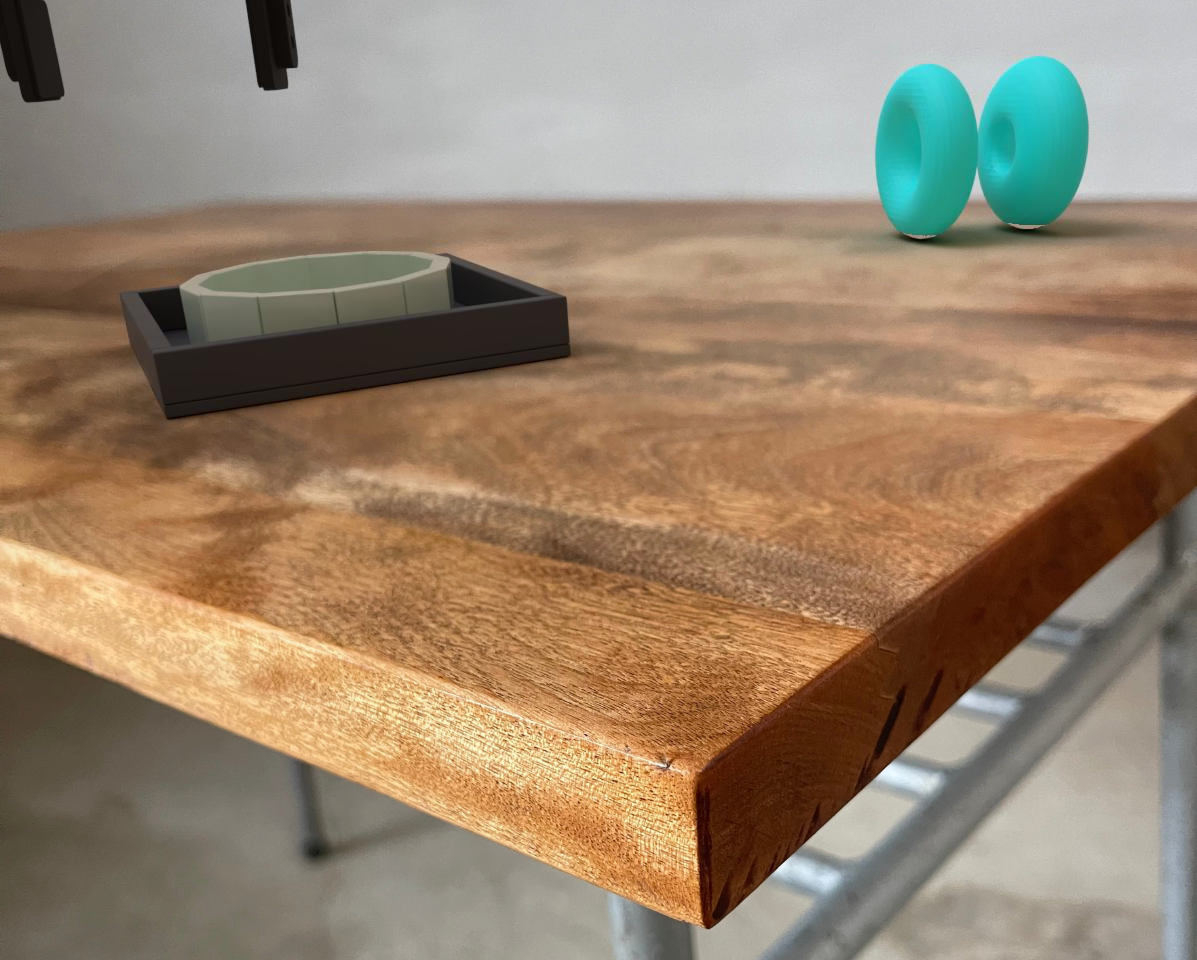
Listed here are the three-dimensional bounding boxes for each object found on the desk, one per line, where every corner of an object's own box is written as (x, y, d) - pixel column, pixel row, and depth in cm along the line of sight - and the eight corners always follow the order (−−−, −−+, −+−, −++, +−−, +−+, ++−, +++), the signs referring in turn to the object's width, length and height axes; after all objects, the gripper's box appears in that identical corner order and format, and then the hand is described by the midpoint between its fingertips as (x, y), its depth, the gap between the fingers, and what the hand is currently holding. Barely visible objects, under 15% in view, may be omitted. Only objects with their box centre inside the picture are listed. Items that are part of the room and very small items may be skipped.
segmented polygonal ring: (165, 377, 51) (150, 303, 50) (228, 322, 62) (217, 260, 60) (447, 357, 51) (438, 284, 50) (461, 306, 62) (455, 244, 61)
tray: (129, 343, 61) (118, 292, 60) (452, 300, 66) (447, 252, 65) (166, 419, 47) (152, 353, 46) (571, 355, 52) (567, 296, 51)
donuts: (865, 231, 81) (870, 65, 77) (1008, 219, 82) (1020, 55, 78) (930, 251, 72) (939, 64, 68) (1089, 236, 73) (1107, 53, 69)
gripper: (-226, -436, 42) (-88, 109, 49) (289, -456, 42) (353, 87, 49) (-118, -367, 49) (-11, 102, 55) (324, -385, 49) (375, 83, 56)
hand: (160, 95), depth 52 cm, fingers open, 9 cm apart
